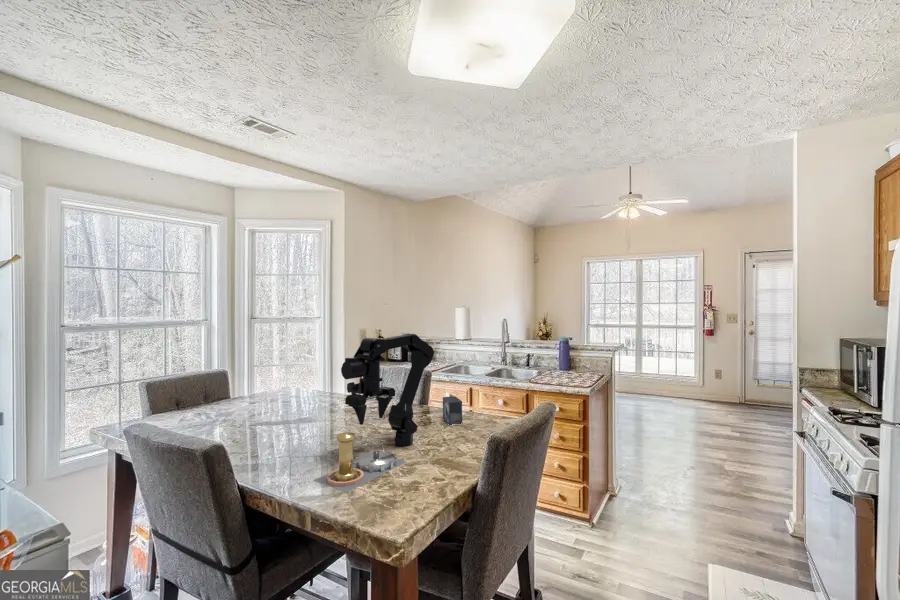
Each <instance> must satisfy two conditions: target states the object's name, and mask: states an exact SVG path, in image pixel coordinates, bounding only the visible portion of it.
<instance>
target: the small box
mask: <svg viewBox="0 0 900 600" xmlns="http://www.w3.org/2000/svg"><path fill="white" fill-rule="evenodd" d="M443 419H444V420H445V421H446V422H447V423H448V424H449V425H452V424H461V423H462V424H463V401H462V400H461V399H460V398H458V397H457V396H455V395H453V396H452V395H451V396H442V420H443ZM444 420H443V421H444ZM445 421H444V422H445ZM446 422H445V423H446ZM447 423H446V424H447ZM448 424H447V425H448ZM449 425H448V426H449Z"/></svg>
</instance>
